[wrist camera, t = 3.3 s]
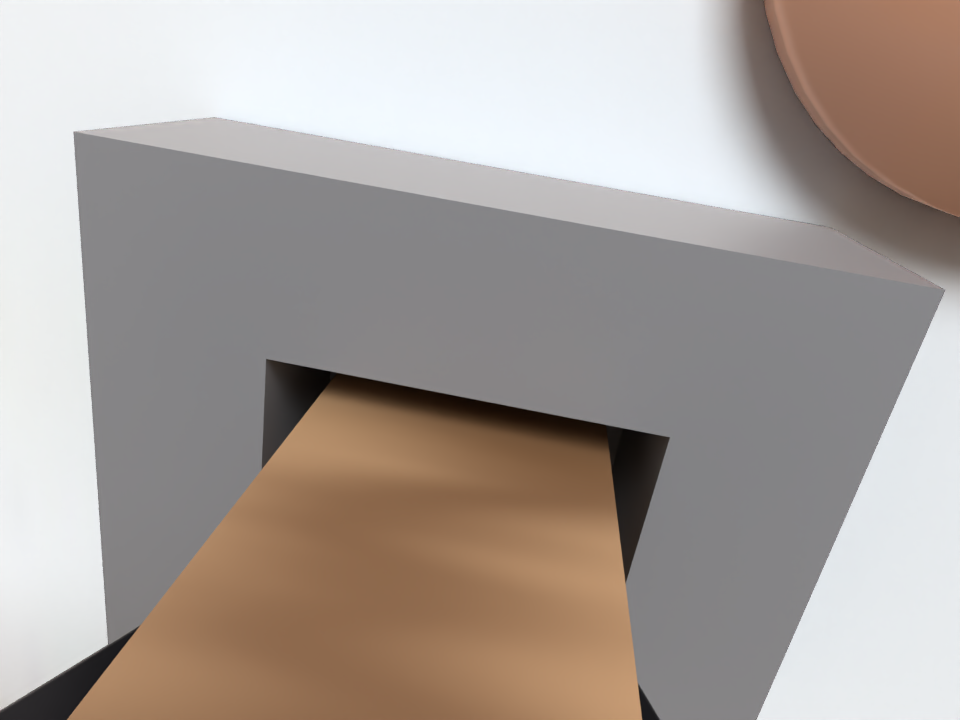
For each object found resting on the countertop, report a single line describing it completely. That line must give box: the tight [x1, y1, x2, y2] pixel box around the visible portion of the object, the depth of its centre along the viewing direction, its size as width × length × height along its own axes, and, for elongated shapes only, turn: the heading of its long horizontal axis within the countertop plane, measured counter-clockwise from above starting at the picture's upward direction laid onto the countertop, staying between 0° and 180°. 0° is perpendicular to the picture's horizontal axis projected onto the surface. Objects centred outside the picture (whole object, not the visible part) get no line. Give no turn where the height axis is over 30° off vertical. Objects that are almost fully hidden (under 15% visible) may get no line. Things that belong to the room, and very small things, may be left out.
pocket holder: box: [74, 117, 945, 720], centre depth 11 cm, size 10×10×4 cm
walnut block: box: [67, 373, 642, 720], centre depth 9 cm, size 4×4×8 cm
